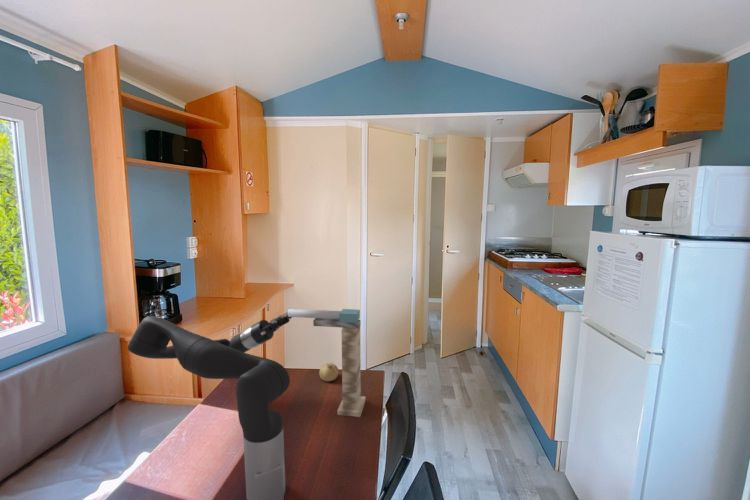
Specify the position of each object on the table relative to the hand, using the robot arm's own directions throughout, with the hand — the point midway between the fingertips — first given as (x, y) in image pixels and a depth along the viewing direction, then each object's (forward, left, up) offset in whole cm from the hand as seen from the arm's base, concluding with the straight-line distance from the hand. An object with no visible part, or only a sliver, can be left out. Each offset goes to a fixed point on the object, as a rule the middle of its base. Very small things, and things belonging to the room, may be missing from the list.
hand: (293, 314), depth 118 cm
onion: (+9, -17, -33) cm, 39 cm away
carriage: (-7, -8, -1) cm, 11 cm away
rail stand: (-11, -13, -33) cm, 37 cm away
